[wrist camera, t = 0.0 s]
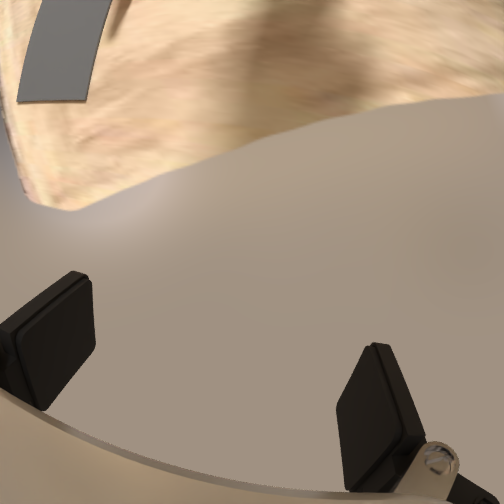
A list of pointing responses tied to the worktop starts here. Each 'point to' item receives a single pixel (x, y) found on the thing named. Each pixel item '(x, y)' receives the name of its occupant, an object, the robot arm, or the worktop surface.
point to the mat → (62, 50)
